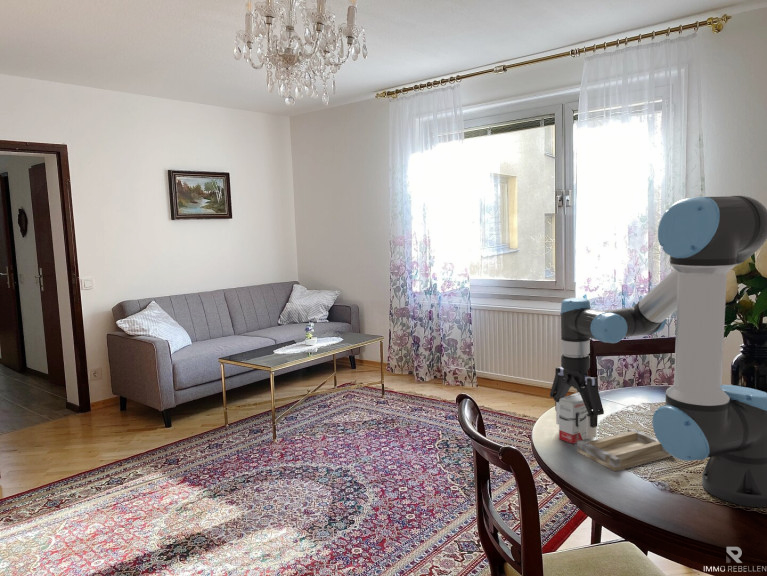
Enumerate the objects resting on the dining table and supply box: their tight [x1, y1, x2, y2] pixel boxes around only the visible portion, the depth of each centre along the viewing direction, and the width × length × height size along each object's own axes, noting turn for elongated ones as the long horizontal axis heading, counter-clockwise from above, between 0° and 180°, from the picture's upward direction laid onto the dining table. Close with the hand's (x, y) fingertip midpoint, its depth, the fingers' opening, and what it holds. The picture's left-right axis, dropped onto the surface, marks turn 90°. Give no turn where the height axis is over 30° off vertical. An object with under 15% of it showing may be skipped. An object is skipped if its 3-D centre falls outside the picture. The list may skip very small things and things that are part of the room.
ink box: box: [558, 392, 588, 445], centre depth 154 cm, size 8×5×12 cm, turn 123°
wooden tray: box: [576, 427, 673, 472], centre depth 143 cm, size 13×19×3 cm
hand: (575, 430), depth 155 cm, fingers open, 11 cm apart
